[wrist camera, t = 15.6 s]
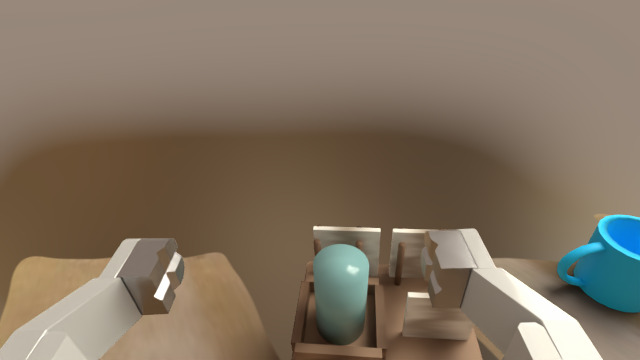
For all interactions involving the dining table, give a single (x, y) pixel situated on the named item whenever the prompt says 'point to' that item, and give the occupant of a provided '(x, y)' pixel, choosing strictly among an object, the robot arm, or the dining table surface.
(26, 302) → the dining table surface
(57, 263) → the dining table surface
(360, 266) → the teal glossy cylinder
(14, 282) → the dining table surface
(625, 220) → the mug
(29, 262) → the dining table surface
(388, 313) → the rack
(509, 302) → the robot arm
